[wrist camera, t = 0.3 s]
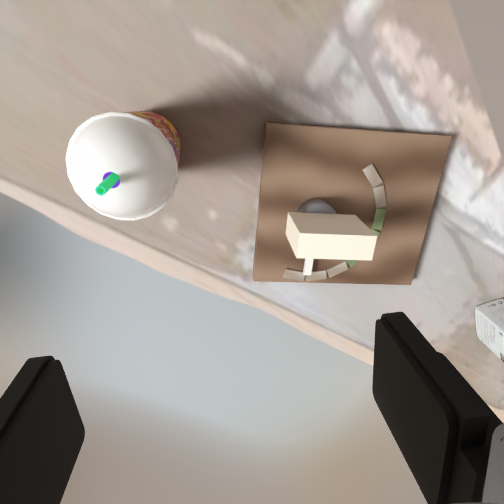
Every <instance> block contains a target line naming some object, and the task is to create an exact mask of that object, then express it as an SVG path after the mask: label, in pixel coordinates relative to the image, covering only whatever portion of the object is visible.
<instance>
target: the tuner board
mask: <svg viewBox="0 0 504 504" xmlns="http://www.w3.org/2000/svg"><path fill="white" fill-rule="evenodd" d="M450 141H451V136H447V135H438V134H424V133H409V132H395V131H381V130H367V129H352V128H338V127H324V126H309V125H295V124H281V123H265V135H264V147H263V159H262V171H261V183H260V195H259V207H258V218H257V230H256V242H255V254H254V266H253V280H254V281H269V282H310V283H352V284H394V285H411V283H412V280H413V276H414V272H415V269H416V265H417V262H418V258H419V254H420V251H421V247H422V243H423V240H424V236H425V232H426V229H427V225H428V221H429V218H430V214H431V210H432V207H433V203H434V199H435V196H436V192H437V189H438V185H439V181H440V178H441V174H442V170H443V167H444V163H445V159H446V156H447V152H448V148H449V145H450ZM314 198H318V199H322V200H324V201H326V202H327V203H328V204H329V205H330V206H331V207H332V208H333V209H334V210H335V211H336V213H337V214H346V215H356V216H357V217H358V218H359V219H360V220H361V221H362V222H363V223H364V224H365V225H366V226H367V227H368V228H369V229H370V230H371V231H373V232H374V233H375V234H376V235H377V240H376V245H375V249H374V254H373V258H372V261H369V260H337V259H314V260H313V266H312V273H311V275H304V274H303V269H304V262H305V259H304V258H296V256H295V254H294V252H293V250H292V247H291V245H290V243H289V241H288V239H287V236H286V225H287V217H288V212H297V211H298V209H299V207H300V206H301V205H302V204H303V203H304V202H305V201H307V200H310V199H314Z"/></svg>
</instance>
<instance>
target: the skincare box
mask: <svg viewBox="0 0 504 504" xmlns="http://www.w3.org/2000/svg"><path fill="white" fill-rule="evenodd" d="M475 322H476V331H477V336H478V338H479V339H480V340H481V341H482V342H483V343H484V344H485V345H486V346H487V347H488V348H489V349H490V350H492V351H493V352H494V353H495V354H496V355H497V356H498V357H499V358H500V359H501V360H502V361H503V362H504V299H502V298H501V299H497V300H494V301H490V302H487V303H484V304H481V305H478V306H476V307H475Z"/></svg>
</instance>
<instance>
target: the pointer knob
mask: <svg viewBox="0 0 504 504" xmlns="http://www.w3.org/2000/svg"><path fill="white" fill-rule="evenodd" d="M286 236H287V239H288V241H289V243H290V245H291V247H292V250H293V252H294V254H295V256H296V258H304V259H305V262H304V269H303V274H304V275H311V273H312V266H313V260H314V259H337V260H369V261H372V258H373V254H374V249H375V245H376V240H377V235H376V234H375V233H374V232H373V231H371V230H370V229H369V228H368V227H367V226H366V225H365V224H364V223H363V222H362V221H361V220H360V219H359V218H358V217H357V216H356V215H346V214H337V213H336V211H335V210H334V209H333V208H332V207H331V206H330V205H329V204H328V203H327V202H326V201H324V200H322V199H318V198H314V199H310V200H307V201H305V202H304V203H303V204H302V205H301V206H300V207H299V209H298V211H297V212H288V217H287V225H286Z"/></svg>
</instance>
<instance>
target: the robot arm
mask: <svg viewBox="0 0 504 504" xmlns="http://www.w3.org/2000/svg"><path fill="white" fill-rule="evenodd" d="M373 395H374V399H375V401H376V403H377V405H378V407H379V409H380V411H381V413H382V415H383V417H384V419H385V421H386V423H387V425H388V427H389V429H390V430H391V433H392V435H393V436H394V438H395V440H396V442H397V444H398V446H399V448H400V450H401V452H402V454H403V456H404V458H405V460H406V462H407V464H408V466H409V468H410V469H411V472H412V473H413V475H414V477H415V479H416V481H417V483H418V485H419V487H420V489H421V491H422V493H423V495H424V497H425V499H426V501H427V503H428V504H504V424H503V423H502V422H501V420H500V419H499V418H498V417H497V416H496V415H495V414H494V412H493V411H492V410H491V409H490V408H489V407H488V405H487V404H486V403H485V402H484V401H483V400H482V398H481V397H480V396H479V395H478V394H477V393H476V391H475V390H474V389H473V388H472V387H471V386H470V385H469V383H468V382H467V381H466V380H465V379H464V378H463V376H462V375H461V374H460V373H459V372H458V371H457V369H456V368H455V367H454V366H453V365H452V364H451V362H450V361H449V360H448V359H447V358H446V357H445V356H444V355H443V354H442V353H439V352H436V350H435V349H434V348H433V347H432V346H431V344H430V343H429V342H428V341H427V340H426V339H425V337H424V336H423V335H422V334H421V333H420V331H419V330H418V329H417V328H416V327H415V326H414V324H413V323H412V322H411V321H410V320H409V318H408V317H407V316H406V315H405V314H404V313H403V312H395V313H387V314H383V315H382V316H381V319H378V320H376V326H375V347H374V367H373ZM84 434H85V430H84V426H83V423H82V420H81V417H80V415H79V412H78V409H77V406H76V403H75V401H74V398H73V395H72V392H71V389H70V386H69V384H68V381H67V378H66V375H65V372H64V370H63V367H62V364H61V362H60V361H59V360H55V359H54V358H53V357H52V356H44V357H35V358H30V359H28V360H27V361H26V362H25V364H24V365H23V367H22V368H21V370H20V371H19V373H18V374H17V375H16V377H15V378H14V380H13V381H12V383H11V384H10V386H9V387H8V388H7V390H6V391H5V393H4V394H3V396H2V397H1V398H0V504H60V502H61V499H62V497H63V494H64V491H65V489H66V486H67V483H68V481H69V478H70V475H71V473H72V470H73V467H74V465H75V462H76V460H77V457H78V454H79V452H80V449H81V446H82V444H83V441H84V436H85V435H84Z"/></svg>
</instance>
